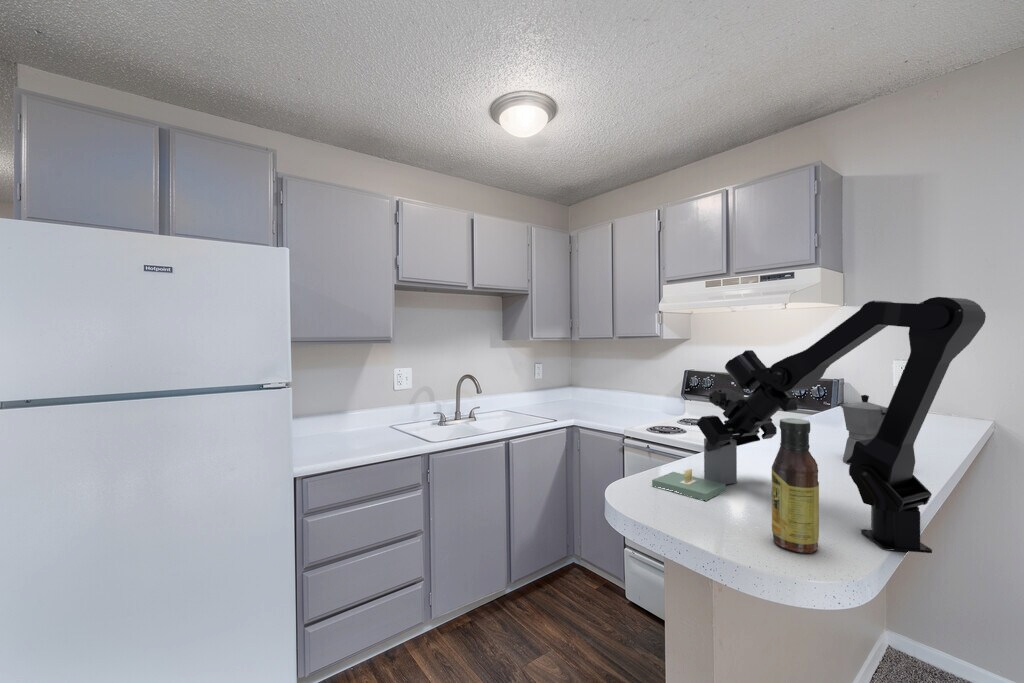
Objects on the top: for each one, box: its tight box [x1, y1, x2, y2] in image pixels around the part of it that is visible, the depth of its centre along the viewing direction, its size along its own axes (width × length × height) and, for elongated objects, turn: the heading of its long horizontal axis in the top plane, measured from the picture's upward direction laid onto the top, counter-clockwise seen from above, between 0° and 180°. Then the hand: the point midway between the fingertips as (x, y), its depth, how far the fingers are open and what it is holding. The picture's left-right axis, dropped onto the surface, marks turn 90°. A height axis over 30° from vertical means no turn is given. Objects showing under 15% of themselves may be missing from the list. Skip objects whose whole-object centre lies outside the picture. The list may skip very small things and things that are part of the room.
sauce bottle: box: [771, 417, 820, 554], centre depth 69 cm, size 6×6×20 cm
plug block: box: [703, 437, 738, 485], centre depth 100 cm, size 4×5×10 cm
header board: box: [651, 468, 727, 502], centre depth 96 cm, size 12×9×4 cm
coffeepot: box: [839, 394, 888, 466], centre depth 113 cm, size 15×9×18 cm, turn 14°
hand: (715, 448), depth 101 cm, fingers closed on plug block, 5 cm apart
